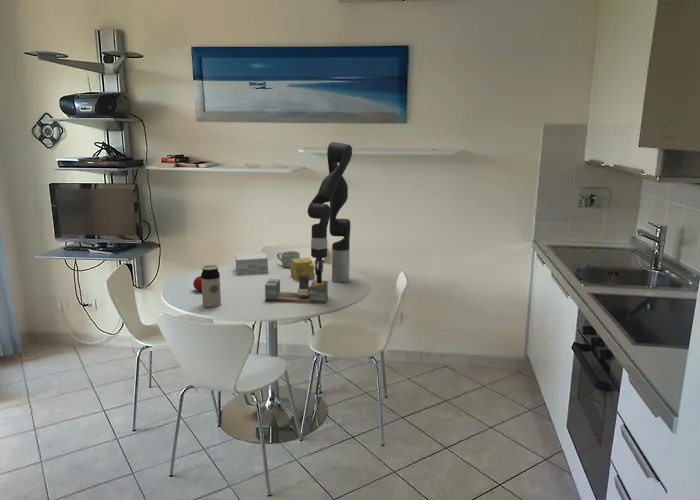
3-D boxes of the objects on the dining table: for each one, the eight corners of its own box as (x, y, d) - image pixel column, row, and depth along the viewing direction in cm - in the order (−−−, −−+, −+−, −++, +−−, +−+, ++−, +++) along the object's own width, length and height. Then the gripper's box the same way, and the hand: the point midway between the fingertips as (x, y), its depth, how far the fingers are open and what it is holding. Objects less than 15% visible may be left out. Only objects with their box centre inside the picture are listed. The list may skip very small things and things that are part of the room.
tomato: (216, 289, 256) (215, 274, 254) (202, 294, 249) (201, 278, 247) (203, 286, 261) (202, 271, 259) (189, 291, 253) (188, 275, 251)
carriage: (299, 290, 247) (299, 273, 245) (310, 290, 246) (310, 273, 244) (297, 294, 240) (297, 277, 238) (308, 295, 240) (308, 277, 238)
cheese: (314, 279, 277) (314, 261, 274) (295, 281, 273) (295, 263, 270) (308, 274, 286) (308, 256, 284) (290, 276, 282) (289, 258, 280)
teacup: (303, 265, 303) (303, 252, 301) (292, 270, 294) (291, 256, 292) (285, 262, 310) (284, 249, 308) (273, 266, 301) (272, 252, 299)
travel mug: (202, 303, 237) (199, 265, 233) (219, 301, 240) (218, 263, 235) (203, 308, 230) (201, 269, 225) (221, 306, 232) (220, 268, 228)
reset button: (314, 289, 245) (314, 280, 244) (324, 289, 245) (324, 281, 244) (313, 292, 240) (313, 283, 239) (323, 292, 240) (323, 284, 239)
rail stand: (269, 294, 250) (269, 279, 248) (327, 296, 248) (327, 280, 246) (265, 301, 240) (264, 285, 238) (325, 303, 238) (325, 287, 237)
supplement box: (265, 268, 298) (265, 252, 296) (268, 274, 285) (267, 257, 283) (235, 269, 293) (235, 253, 291) (237, 276, 281) (236, 259, 279)
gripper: (313, 243, 244) (313, 278, 248) (309, 249, 231) (309, 286, 235) (328, 243, 244) (328, 279, 248) (325, 250, 231) (325, 287, 235)
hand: (319, 282), depth 241 cm, fingers closed
